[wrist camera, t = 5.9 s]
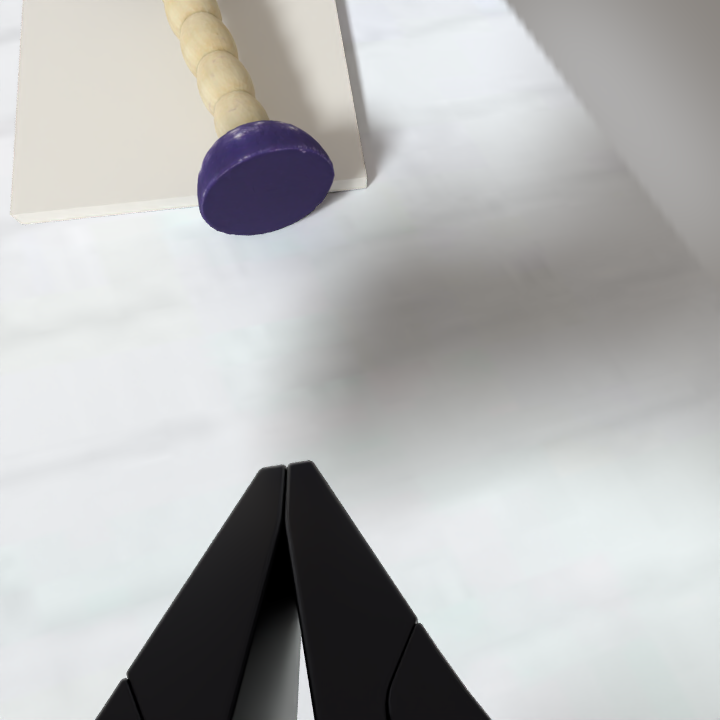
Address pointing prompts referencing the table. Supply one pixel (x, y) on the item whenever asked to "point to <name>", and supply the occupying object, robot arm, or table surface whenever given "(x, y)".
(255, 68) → the felt mat
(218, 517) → the table surface
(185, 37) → the toy lamp
